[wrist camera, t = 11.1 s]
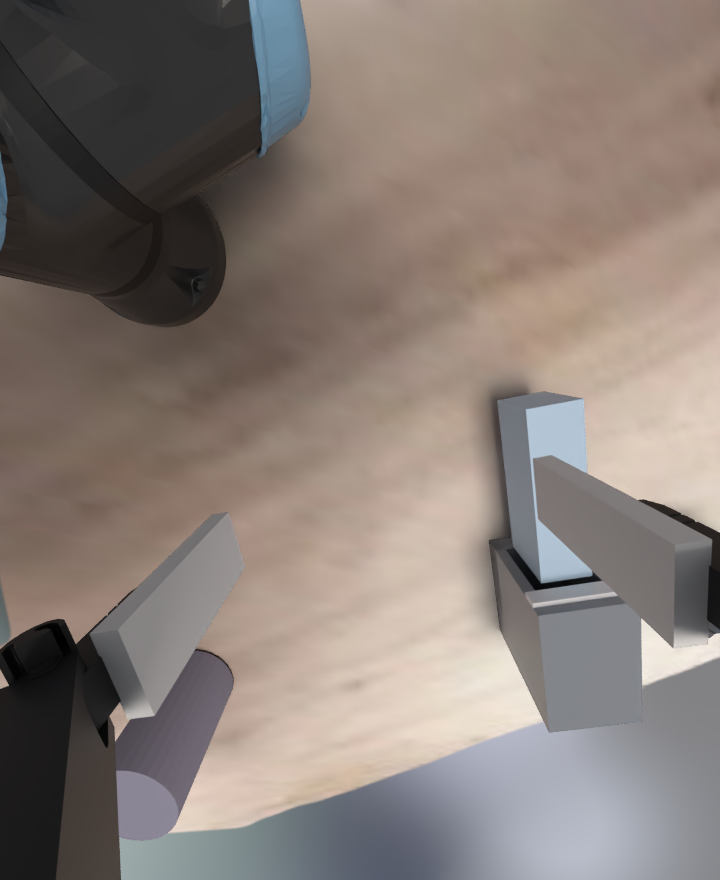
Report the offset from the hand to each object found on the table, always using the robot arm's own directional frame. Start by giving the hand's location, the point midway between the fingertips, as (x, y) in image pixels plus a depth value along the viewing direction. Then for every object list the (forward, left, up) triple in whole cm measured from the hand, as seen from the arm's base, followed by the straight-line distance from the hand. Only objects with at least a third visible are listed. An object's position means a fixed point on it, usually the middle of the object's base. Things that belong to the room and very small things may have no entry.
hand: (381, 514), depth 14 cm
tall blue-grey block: (+10, +16, -24) cm, 30 cm away
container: (+34, -33, -27) cm, 54 cm away
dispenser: (+26, +16, -27) cm, 41 cm away
